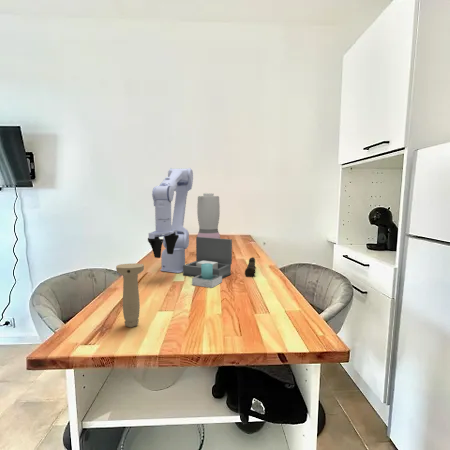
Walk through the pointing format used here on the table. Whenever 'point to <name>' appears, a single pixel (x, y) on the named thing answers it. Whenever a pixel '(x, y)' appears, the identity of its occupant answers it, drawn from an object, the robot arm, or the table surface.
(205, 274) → the teal cylinder
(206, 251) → the case
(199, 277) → the white square frame
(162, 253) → the robot arm
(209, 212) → the blender
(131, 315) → the handle
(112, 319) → the table surface
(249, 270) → the hand tool
